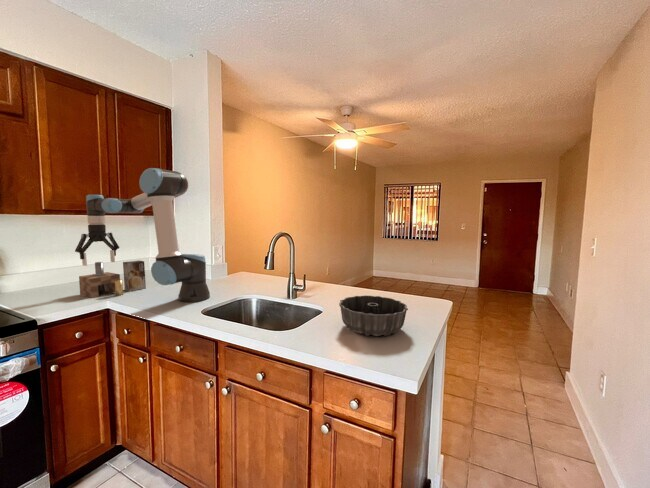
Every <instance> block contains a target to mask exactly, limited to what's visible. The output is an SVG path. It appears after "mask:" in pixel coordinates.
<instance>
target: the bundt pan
mask: <svg viewBox="0 0 650 488" xmlns="http://www.w3.org/2000/svg"><path fill="white" fill-rule="evenodd" d="M338 304H339V307H340V312H341V320H342V322H343V324H344V325H345V326H346V328H347V329H348V331H352V332H355V333H357V334H361V335H362V334H364V336H367V337H368V336H370V335H372V336H373V337H380V336H384V337H387V336H389V335H392V334H396V333H397V332H398V331H399V330H401V329H402V328H403V327H404V324H405V320H406V319H405V318H406V314H407V311H409V308H408V305H407V304H406V303H404V302H402V301H401V300H396V299H394V298H392V297H387V296H386V297H385V296H384V297H383V296H380V295H377V296H375V295H354V296H348V297H345V298H344V299H341V300H340V302H339V303H338Z"/></svg>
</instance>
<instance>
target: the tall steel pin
mask: <svg viewBox="0 0 650 488" xmlns="http://www.w3.org/2000/svg"><path fill="white" fill-rule="evenodd" d="M94 269H95V271H94V272H95V273H94V274H96V276H97V277H98V276H104V273H105V272H104V262H103V261H98V262H97V261H95V262H94ZM98 294H99V295H104V294H106V291H105V285H104V284H103V285H98Z"/></svg>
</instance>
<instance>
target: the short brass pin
mask: <svg viewBox="0 0 650 488" xmlns="http://www.w3.org/2000/svg"><path fill="white" fill-rule="evenodd" d="M114 282H115V293H114V296H115V297H122V296H124V287H123V286H124V283H123V282H124V279H120V280H115V281H114ZM121 295H122V296H121Z"/></svg>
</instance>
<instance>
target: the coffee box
mask: <svg viewBox="0 0 650 488" xmlns="http://www.w3.org/2000/svg"><path fill="white" fill-rule="evenodd" d="M122 267H123V271H122V272H123V282H124V283H123V286H124V290H125V291H127V292H133V291H137V290H143V289H147V288H146V287H147V283H146V270H145V268H146V267H145V261H143V260H131V261H130V260H129V261H123V262H122Z"/></svg>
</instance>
